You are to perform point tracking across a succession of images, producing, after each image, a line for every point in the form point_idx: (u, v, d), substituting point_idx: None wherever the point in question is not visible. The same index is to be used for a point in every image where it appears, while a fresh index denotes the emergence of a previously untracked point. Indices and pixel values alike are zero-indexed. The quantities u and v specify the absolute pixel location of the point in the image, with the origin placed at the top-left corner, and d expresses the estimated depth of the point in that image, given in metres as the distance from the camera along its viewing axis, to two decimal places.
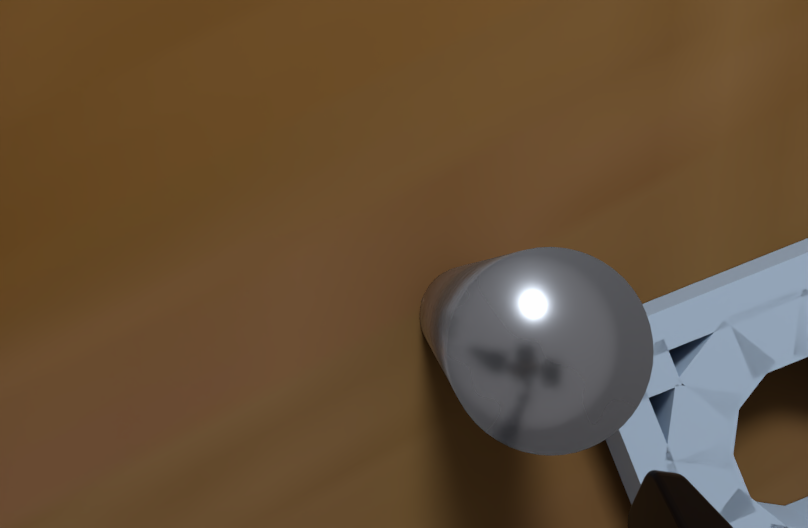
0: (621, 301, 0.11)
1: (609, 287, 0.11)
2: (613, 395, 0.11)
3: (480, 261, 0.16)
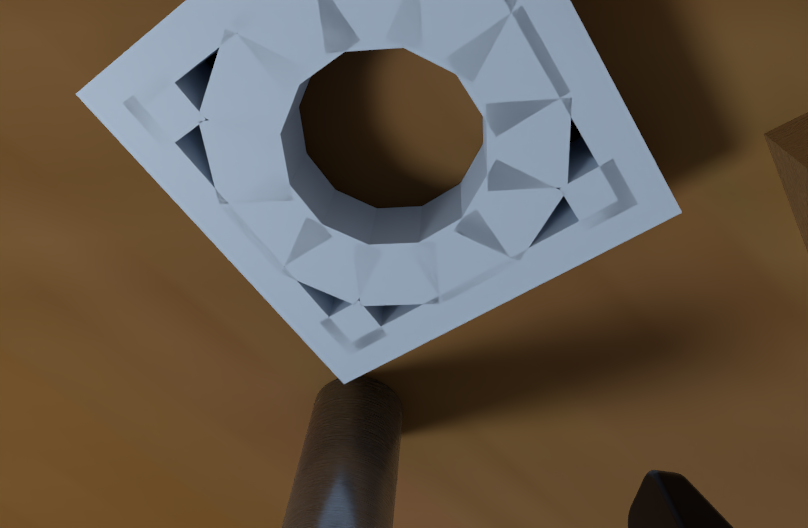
0: None
1: None
2: None
3: None
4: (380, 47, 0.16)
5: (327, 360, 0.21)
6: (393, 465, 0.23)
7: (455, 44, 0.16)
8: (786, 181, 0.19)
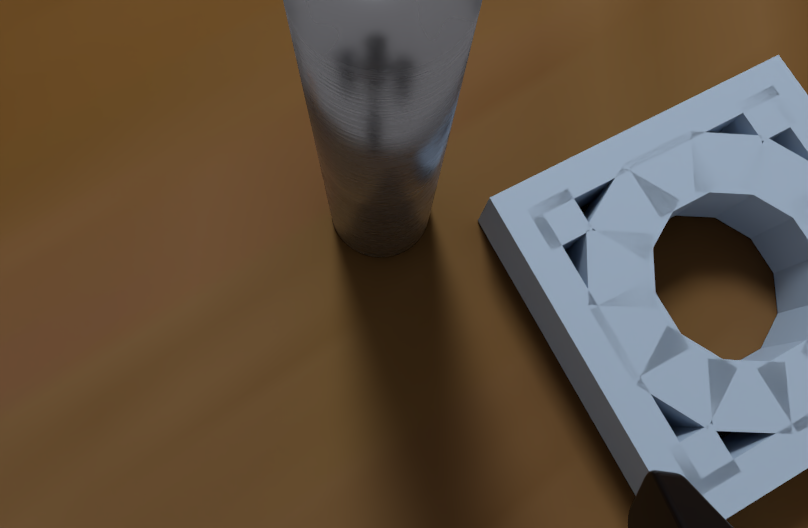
0: None
1: None
2: (449, 14, 0.11)
3: None
4: None
5: (520, 187, 0.21)
6: (394, 228, 0.20)
7: None
8: None
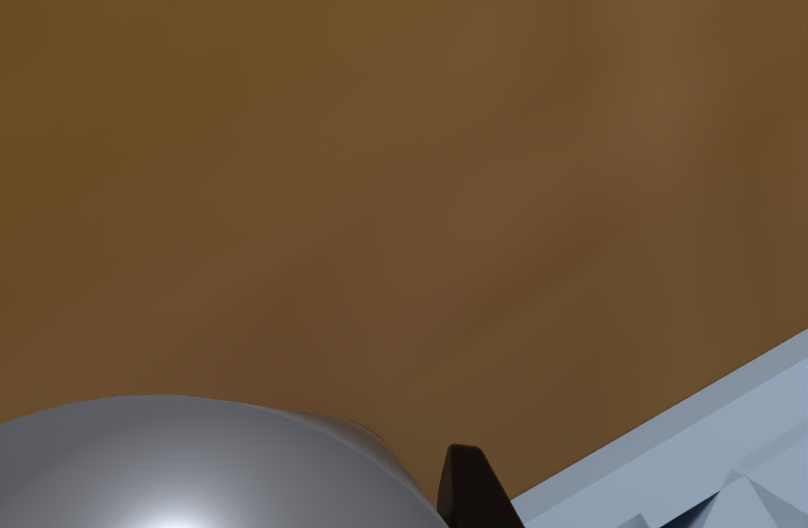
0: None
1: None
2: None
3: None
4: None
5: (560, 512, 0.12)
6: None
7: None
8: None
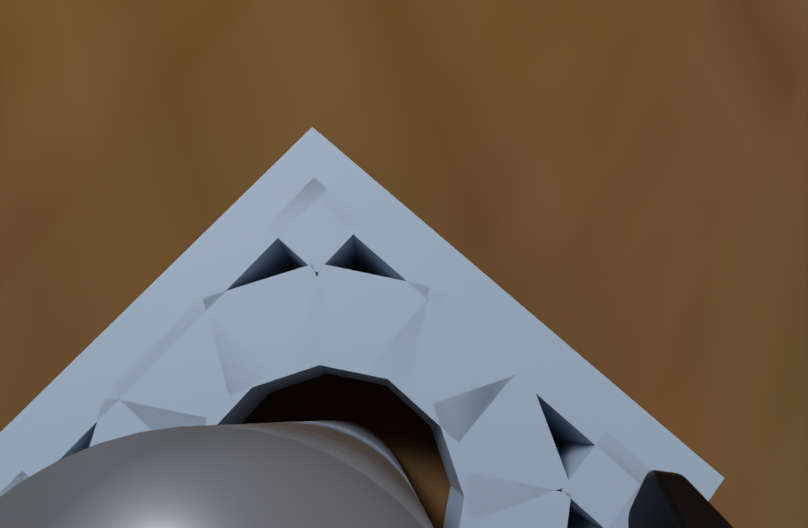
0: None
1: None
2: None
3: None
4: (453, 468, 0.14)
5: None
6: None
7: None
8: None
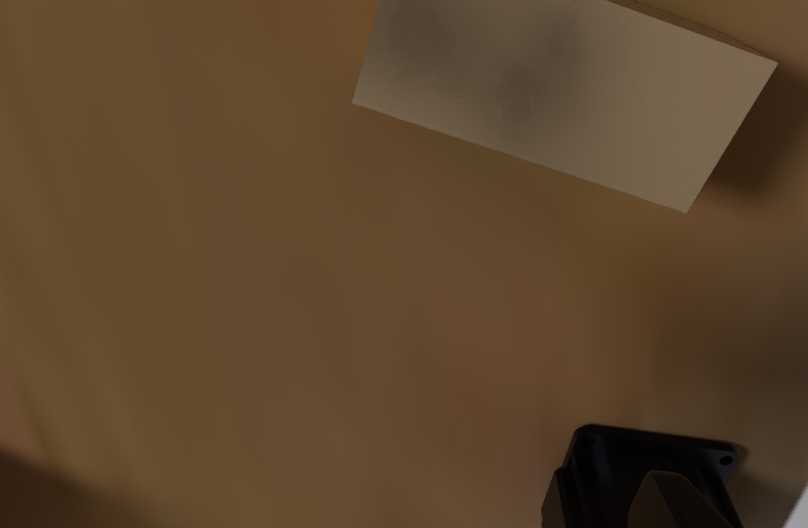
0: None
1: None
2: None
3: None
4: None
5: None
6: None
7: None
8: None
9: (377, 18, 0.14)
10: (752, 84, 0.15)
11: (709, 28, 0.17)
